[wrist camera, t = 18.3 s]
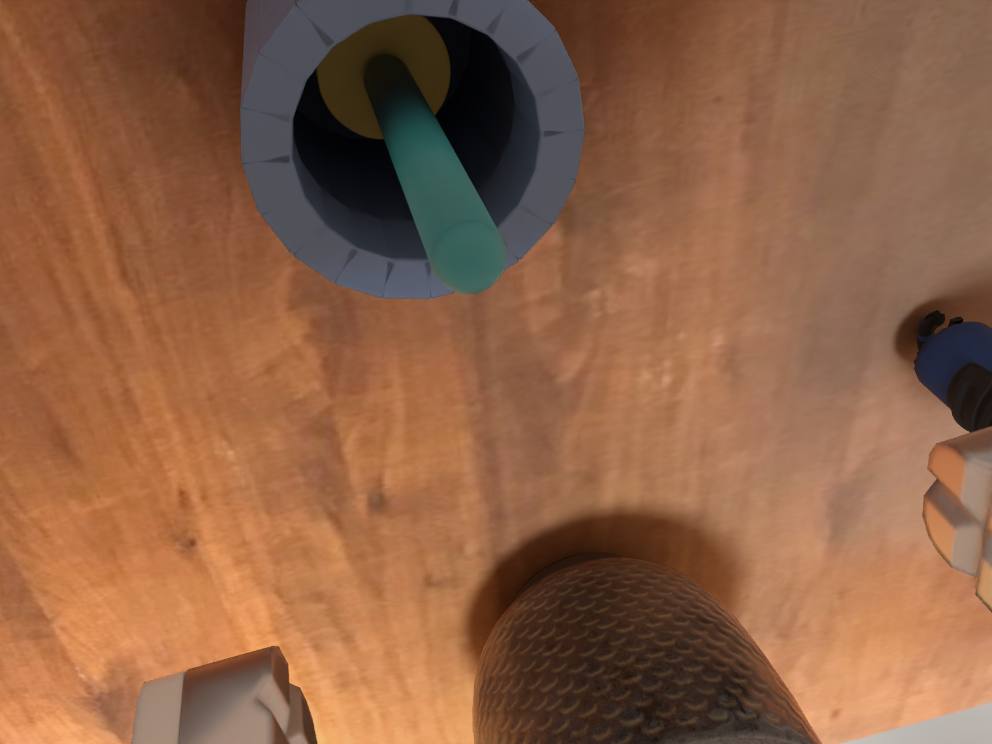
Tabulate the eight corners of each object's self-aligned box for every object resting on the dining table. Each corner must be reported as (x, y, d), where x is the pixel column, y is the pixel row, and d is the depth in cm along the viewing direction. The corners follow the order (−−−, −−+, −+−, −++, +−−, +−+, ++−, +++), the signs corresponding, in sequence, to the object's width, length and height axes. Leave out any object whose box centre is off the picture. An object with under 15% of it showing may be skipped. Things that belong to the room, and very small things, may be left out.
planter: (400, 568, 51) (449, 835, 38) (679, 454, 51) (824, 681, 38) (493, 729, 61) (557, 985, 48) (727, 633, 61) (856, 863, 48)
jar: (210, -67, 33) (185, 9, 21) (455, -124, 33) (559, -80, 22) (288, 170, 38) (302, 335, 26) (498, 116, 39) (602, 253, 27)
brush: (293, -6, 33) (331, 198, 17) (412, -36, 34) (568, 134, 17) (329, 113, 36) (393, 394, 19) (440, 84, 36) (598, 335, 20)
